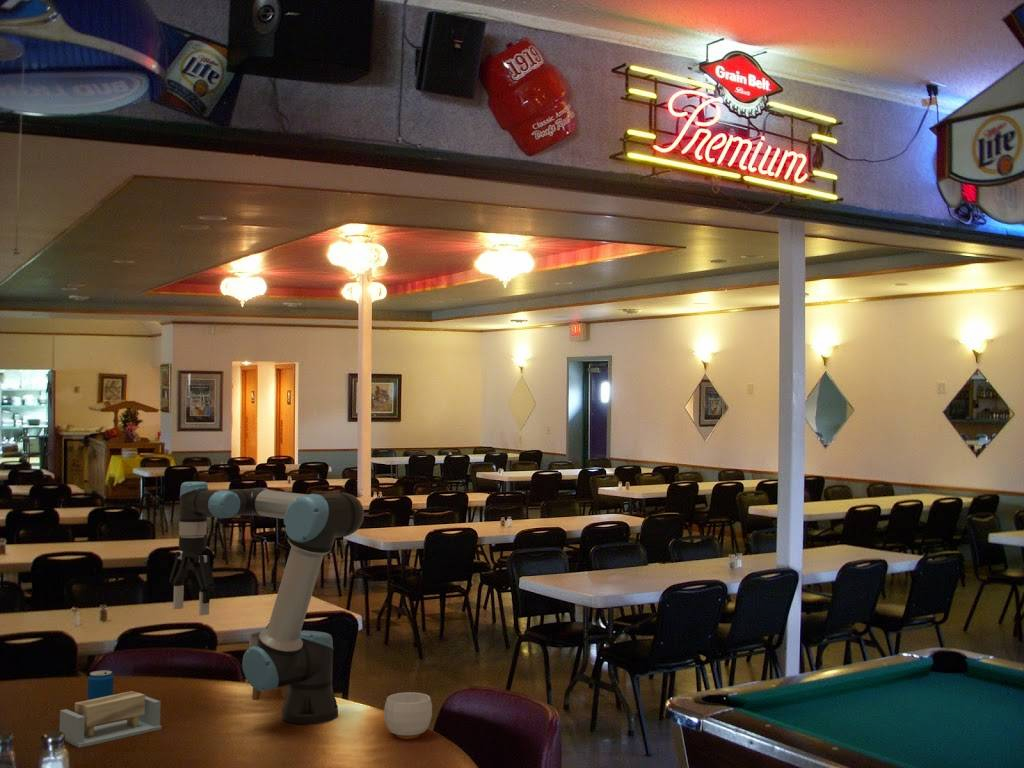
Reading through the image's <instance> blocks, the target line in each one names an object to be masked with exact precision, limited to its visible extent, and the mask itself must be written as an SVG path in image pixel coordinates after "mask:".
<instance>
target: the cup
mask: <svg viewBox="0 0 1024 768" xmlns="http://www.w3.org/2000/svg"><path fill="white" fill-rule="evenodd" d="M383 709H384V713H383V714H384V715H383V718H384V721H385V722H384V723H385V724H386V727H387V729H388V730H389V732H391V733H392V734H395V735H396V737H397V738H399V739H404V740H408V739H410V740H411V739H415V738H418V737H419V736H420V735H421V734H423V733H425V732H426V730H428V728H429V727H430V725H431V724H430V723H431V720H432V716H433V715H432V714H433V704H432V699H431V696H430V695H428V694H426V693H422V692H413V691H411V692H398V693H393V694H390V695H388V696H387V698H386V701H385V705H384V708H383Z"/></svg>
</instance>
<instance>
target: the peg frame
mask: <svg viewBox="0 0 1024 768" xmlns="http://www.w3.org/2000/svg"><path fill="white" fill-rule="evenodd" d="M161 703H162V702H161V700H158V699H155V698H152V697H150V696H147V695H145V714H143V715H138V716H134V717H130V718H126V719H123V720H118V721H113V722H108V723H104V724H99V725H95V726H91V727H84V724H85V717H84V716H82V715H79V714H77V713H75V711H71V709H70V710H69V709H60V710H59V732H63V733H64V734H65V741H64V742H66V741H67V742H66V743H68V744H69V745H73V746H74V747H77V748H83V747H84V748H85V747H89V746H92V745H99V744H103V743H106V742H111V741H116V740H120V739H124V738H129V737H135V736H138V735H142V734H147V733H151V732H155V731H160V730H163V726H162V725H161V707H162V706H161Z"/></svg>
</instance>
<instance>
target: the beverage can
mask: <svg viewBox="0 0 1024 768" xmlns="http://www.w3.org/2000/svg"><path fill="white" fill-rule="evenodd" d="M114 678H115V677H114V675H113V671H111V670H104V669H103V670H102V669H101V670H96V671H91V672H90V673H89V676H88V677H87V697H86V699H87V700H92V699H96V698H101V697H106V696H111V695H114ZM87 700H86V701H87Z"/></svg>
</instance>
